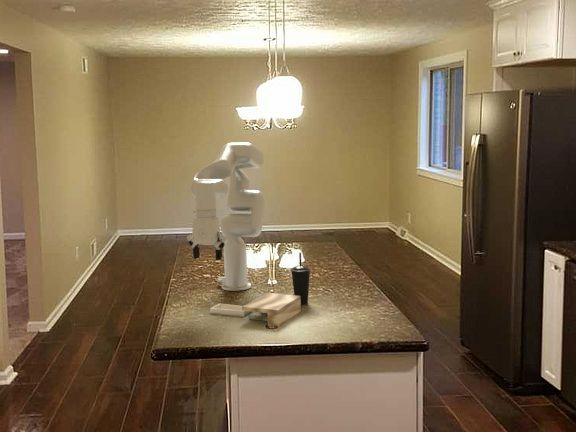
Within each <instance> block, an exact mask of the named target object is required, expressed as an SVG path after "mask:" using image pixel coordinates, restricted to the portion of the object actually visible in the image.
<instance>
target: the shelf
mask: <svg viewBox="0 0 576 432" xmlns="http://www.w3.org/2000/svg"><path fill="white" fill-rule="evenodd" d="M241 306H242V311H252V312H254V313H263V314H267V316H264V315H255V314H248V315H249V317H248V319H250V320H257V321H267V326H269V327H276V328H277V327H278V328H279V327H280V326H282V325H283V324H285V323H286V322H287V321H289V320H291V319H292V318H293V317H295V316H296V315H297V314H300V312H302V311H301V310H302V308H301V307H302V305H301V298H300V296H297V295H294V294H286V293H285V294H283V293H274V292H273V293H271V292H265V293H263V294H262V295H260V296H258V297H257V298H255V299H253V300H251V301H250V302H248V303H246V304H244V305H241ZM252 312H251V313H252Z"/></svg>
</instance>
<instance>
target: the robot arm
mask: <svg viewBox="0 0 576 432" xmlns="http://www.w3.org/2000/svg"><path fill="white" fill-rule="evenodd" d="M264 160H265V156H264V153H263V151H262V149H261V148H259V147H258V146H256V145H254V144H253V143H250V142H227V143H226V144H224V145H222V146H221V148H220V150H219V151H218V153H217V156H216V158H215V160H214V161H213V162H210V163H209V164H207V165H206V166H204V167H202V168H200V169H198V171H197V172H196V173H195V174H194V176H193V178H192V179H191V182H190V186H189V192H190V195H191V196H192V197H193V198H195V200H194V201H195V209H194V210H193V211H192V212H193V214H194V215H195V217H194V218H193V222H192V231H191V232H192V233H190V234H188V235H187V236H186V239H187V242H188V244H189V245H190V247H191V249H192V254H193V259H195V260H196V259H199V258H200V256H201V255H200V253H201V252H200V247H199V245H203V246H205V245H206V246H214V247H215V261H220V260H222V257H223V262H224V266H223V267H224V276H217V282H218V283H222V284H221V289H222V290H224V291H229V292H238V291H239V292H240V291H245V290H249V289H250V288H252V284H251V282H248V262H247V259H248V258H247V246H246V243H245V242H244V240H243V239H242V237H243V238H244V237H245V238H250V237H251V238H257V237H258V236H260V235H261V233H262V230H263V229H262V228H263V223H264V213H265V206H266V204H265V202H266V201H265V196H264V194H263V192H262V191H260V190H255V189H251V190H250V184H251V183H250V178H249V177H248V175H247V174H246V173H245V172H244V169H259V168H261V167H262V166H263V164H264ZM226 178H229V185H228V184H227V182H226V181H225V180H223V179H226ZM227 194H228V195H227ZM225 196H227V201H226V203H227V204H226V207H227V209H228V210H229V211H230V212H232V213H228V214H225V215H223V216H222V217H221V219H220V222H219V218H218V217H217V204H216V201H217V200H216V199H219V200H220V199H223V198H224V197H225Z"/></svg>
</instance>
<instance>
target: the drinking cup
mask: <svg viewBox="0 0 576 432" xmlns="http://www.w3.org/2000/svg"><path fill="white" fill-rule="evenodd" d="M298 254H299V255H298V257H299V265H296V266H293V267H291V268H290V272H291V278H292V279H291V280H292V287H293V295H297V296H300V298H301V306H304V305H305V306H306V305H308V304H309V303H308V302H309V291H310V277H311V276H310V274H311V270H312V269H311V268H310V267H309V266H306V265H302V252H299V253H298Z"/></svg>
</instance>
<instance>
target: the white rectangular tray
mask: <svg viewBox="0 0 576 432" xmlns="http://www.w3.org/2000/svg"><path fill="white" fill-rule="evenodd" d="M242 306H243V305H238V304H228V303H217V304H215V305H213V306H211V307H210V308H209V313H210V314H213V315H220V316H230V317H239V318H241V317H242V318H244V317H246V316H247V315H250V314H251V313H252V311H242Z"/></svg>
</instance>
